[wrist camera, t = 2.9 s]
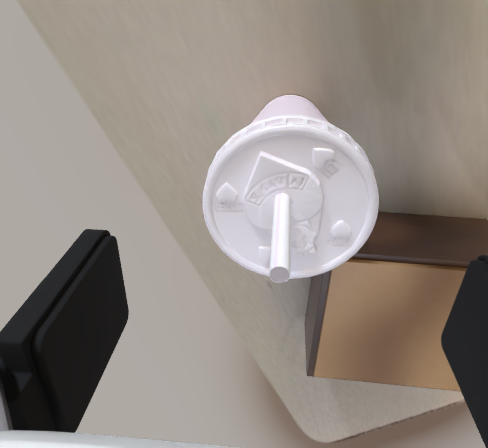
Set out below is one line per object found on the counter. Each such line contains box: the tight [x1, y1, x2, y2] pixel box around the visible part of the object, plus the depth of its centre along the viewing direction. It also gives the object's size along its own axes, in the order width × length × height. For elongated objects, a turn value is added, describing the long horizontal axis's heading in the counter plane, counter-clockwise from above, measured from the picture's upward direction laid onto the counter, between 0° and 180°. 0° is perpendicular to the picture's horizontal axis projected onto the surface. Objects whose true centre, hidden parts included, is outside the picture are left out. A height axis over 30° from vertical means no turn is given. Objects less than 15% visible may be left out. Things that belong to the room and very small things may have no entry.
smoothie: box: [202, 95, 379, 283], centre depth 17 cm, size 6×6×14 cm
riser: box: [305, 212, 488, 391], centre depth 25 cm, size 10×10×5 cm
